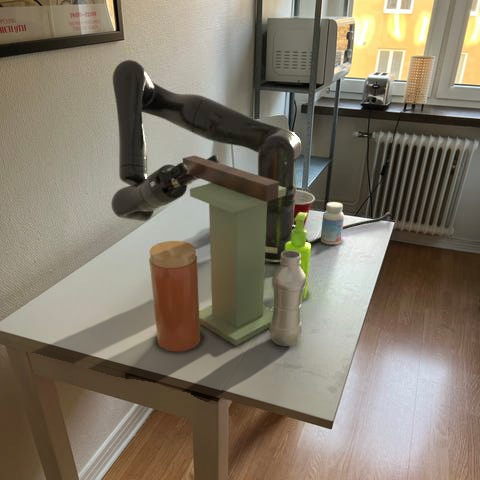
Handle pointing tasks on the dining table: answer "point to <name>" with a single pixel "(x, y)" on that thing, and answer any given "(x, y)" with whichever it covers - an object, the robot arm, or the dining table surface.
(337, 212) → the pill bottle
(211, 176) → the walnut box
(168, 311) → the terracotta jar
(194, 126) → the robot arm
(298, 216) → the soap dispenser
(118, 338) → the dining table surface
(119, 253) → the dining table surface
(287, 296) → the plastic bottle
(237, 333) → the plant stand
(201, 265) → the dining table surface
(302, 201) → the plastic cup
